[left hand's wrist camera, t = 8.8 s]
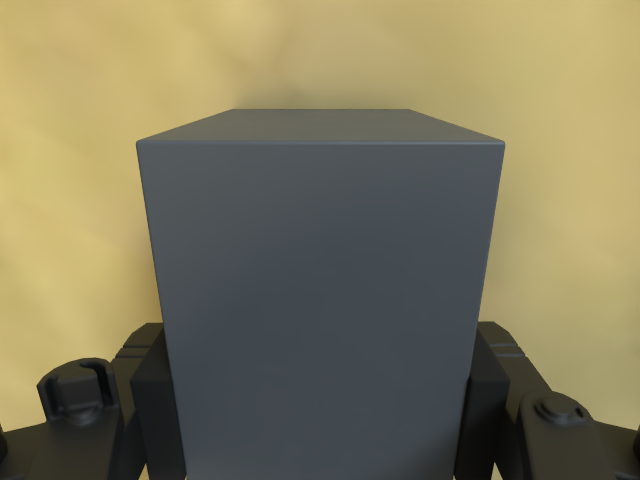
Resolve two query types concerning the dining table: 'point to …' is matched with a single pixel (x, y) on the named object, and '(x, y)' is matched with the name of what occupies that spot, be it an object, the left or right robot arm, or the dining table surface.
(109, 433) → the left robot arm
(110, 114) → the dining table surface
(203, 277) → the beam
